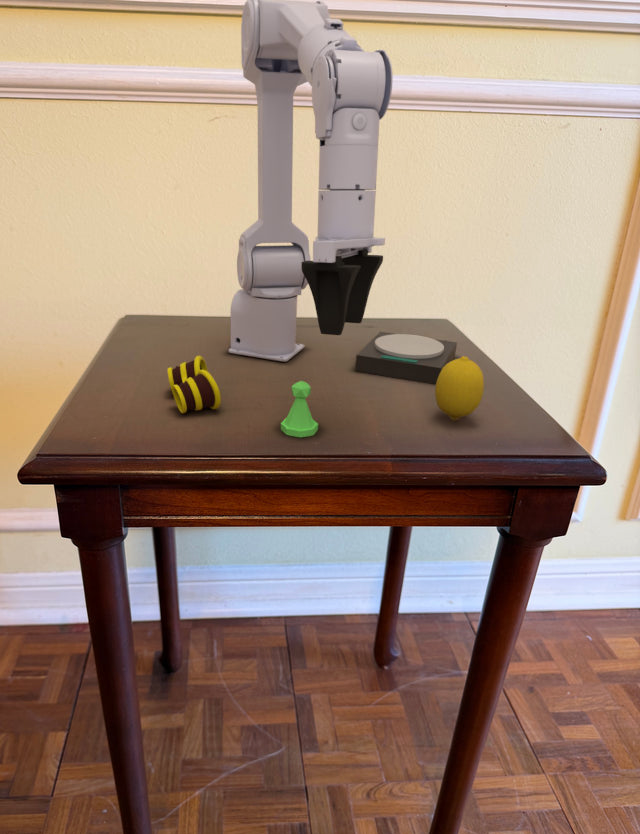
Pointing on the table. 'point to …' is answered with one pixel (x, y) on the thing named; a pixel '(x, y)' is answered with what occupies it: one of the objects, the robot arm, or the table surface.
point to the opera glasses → (193, 386)
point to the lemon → (459, 388)
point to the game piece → (300, 414)
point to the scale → (405, 356)
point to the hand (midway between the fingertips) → (341, 328)
